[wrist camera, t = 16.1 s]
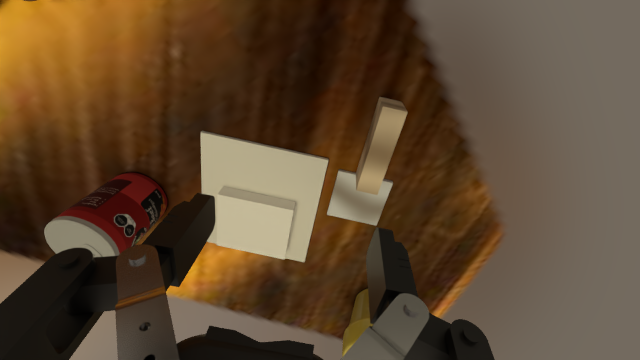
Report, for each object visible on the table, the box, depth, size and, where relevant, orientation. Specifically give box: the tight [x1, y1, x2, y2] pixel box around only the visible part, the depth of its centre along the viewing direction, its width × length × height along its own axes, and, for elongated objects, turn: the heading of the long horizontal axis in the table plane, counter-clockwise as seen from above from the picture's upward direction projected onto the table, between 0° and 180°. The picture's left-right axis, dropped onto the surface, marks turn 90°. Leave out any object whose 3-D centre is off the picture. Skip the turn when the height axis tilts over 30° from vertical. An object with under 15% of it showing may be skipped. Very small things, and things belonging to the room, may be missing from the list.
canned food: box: [44, 173, 167, 257], centre depth 36 cm, size 8×8×11 cm
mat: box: [201, 131, 329, 262], centre depth 40 cm, size 18×16×1 cm
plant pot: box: [342, 289, 373, 356], centre depth 44 cm, size 10×10×10 cm
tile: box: [217, 186, 296, 259], centre depth 40 cm, size 2×10×9 cm
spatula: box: [327, 97, 408, 225], centre depth 34 cm, size 17×7×4 cm, turn 168°
